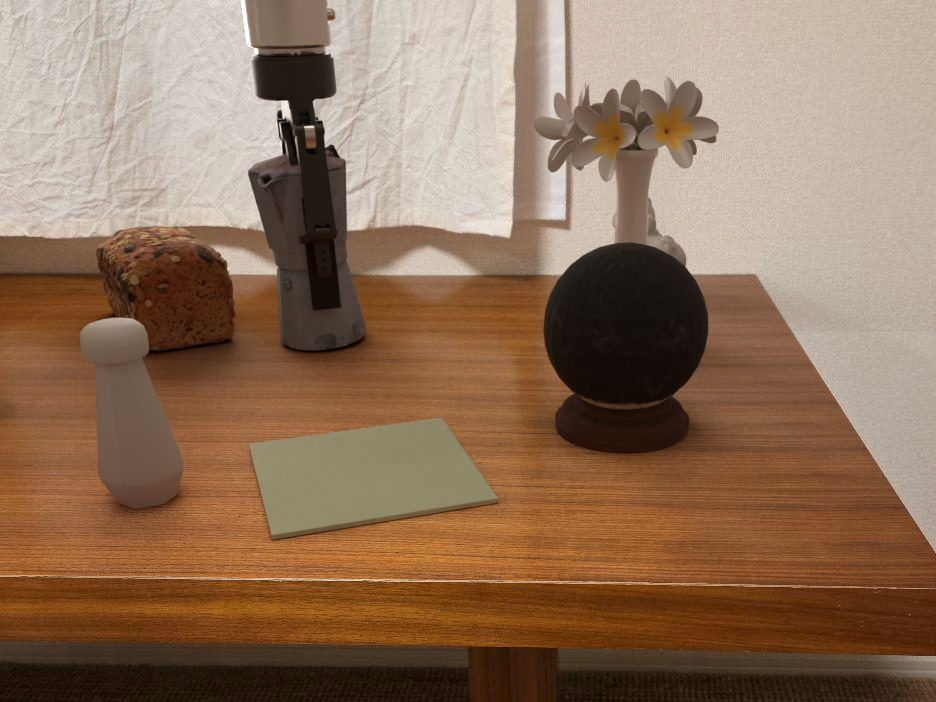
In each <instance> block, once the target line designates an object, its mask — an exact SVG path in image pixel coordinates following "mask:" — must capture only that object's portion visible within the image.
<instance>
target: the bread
mask: <svg viewBox="0 0 936 702" xmlns="http://www.w3.org/2000/svg"><path fill="white" fill-rule="evenodd" d="M95 251H96V252H95V253H96V261H97V263H96V264H97V268H98V271H99V273H100V276H101V280H102V281H101V284H102V287H103V290H104V292H105V293H104V294H105V296H106V298H107V301H108V302H107V303H108V305H109V307H110V309H111V311H112V313H113V315H115V318H129V319H134V320H136V321H138V322H139V323H141V324H142V325H144V327H145V330H146V332H147V335H148V342H149V351H169V350H173V349H183V348H187V347H193V346H201V345H202V346H203V345H207V344H208V345H209V344H214V343H223V342H225V341H227V340H230V339H231V338H232V337H233V336H234V333H235V328H236V323H235V317H236V316H237V315H236V313H237V312H236V310H235V308H234V307H235V300H234V285H233V283H234V282H233V279H232V277H231V276H230V271H228V261H227V259H225V258H224V257H222V254H221V253H220V252H219V251H217V250H216V249H215V248H213V247H211V246H210V245H209V244H208V243H206V242H205V241H203V240H202V239H201V238H199V237H198V236H196V235H195V234H193V233H191V232H190V231H189V230H187V229H185V228H182V227H180V226H171V225H170V226H163V225H151V226H134V227H130V228H125V229H119V230H117V231H116V232H115V233H114V234H113V235H112V236H111V237H109V238H108V239H107V240H105V241H104V242H102V243H100V244H99V245H98V246H97V248H96V250H95Z"/></svg>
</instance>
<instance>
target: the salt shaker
mask: <svg viewBox="0 0 936 702" xmlns="http://www.w3.org/2000/svg"><path fill="white" fill-rule="evenodd" d="M79 346H80V349H81V353H82V356H83V357H84V359H85V360H86V361H88V362H90V363H91V364H94V386H95V388H94V389H95V390H94V391H95V413H96V415H95V416H96V439H97V440H96V442H97V443H96V446H97V473H98V477H99V478H100V482H101V483H102V484H103V486H104V487H105V488H106V489H107V491H109V493H110V495H111V496H112V497H113V498H114V500H116V502H117V503H118V504H121V505H123V506H126V507H129V508H131V509H134V510H138V509H145V508H153V507H160V506H163V505H164V504H166V503H167V502H169V501H170V500H172V499H173V498H174V497H176V496H178V495H179V492H180V491H179V490H180V486H181V481H182V478H183V475H184V474H183V473H184V456H183V454H182V451H181V449H180V447H179V444H178V442H177V440H176V438H175V435H174V433H173V430H172V428H171V426H170V423H169V420H168V418H167V416H166V414H165V411H164V409H163V407H162V404H161V401H160V400H159V397H158V394H157V392H156V389H155V387H154V385H153V383H152V380H151V377H150V374H149V371H148V370H147V366H146V364H145V362H144V359H143V357H145V356H146V355H147V354H149V351H150V350H149V342H148V335H147V332H146V330H145V327H144V325H142V324H141V323H139V322H138V321H136V320H134V319H129V318H117V317H110V318H102V319H99V320H95V321H92V322H90V323H88V324H87V325H84V327H82V330H80V333H79Z"/></svg>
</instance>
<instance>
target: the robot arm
mask: <svg viewBox="0 0 936 702" xmlns="http://www.w3.org/2000/svg"><path fill="white" fill-rule="evenodd" d="M240 2H241V8H242V16H243V24H244V25H243V26H244V33H245V40H246V45H247V46H248V47H249V48H251V49H254V53H253V54H252V55H251V58H249V65H250V71H251V72H250V73H251V79H252V80H251V81H252V86H253V92H254V96H255V97H256V98H258V99H260V100H263V101H270V102H280V103H281V104H280V105H281V109H277V111H276V115H275V116H276V118H275V125H276V126H275V127H276V131H277V135H278V138H279V144H280V145H279V146H280V154H281V155H284V154H287V158H288V161H289V164H290V165H291V166H294V165H299V171H300V178H301V185H302V192H303V198H301V200H302V210H303V219H304V226H305V232H306V234H305V235H302V236H299V243H300V244H305V250H306V259H307V267H308V275H309V284H310V292H311V300H312V309H313V310H324V309H334V308H341V301H340V291H339V282H338V272H337V263H336V253H335V244H334V238H337V234H338V233H337V229H336V226H335V218H334V211H333V203H332V196H331V189H330V181H329V174H328V167H327V159H326V152H325V148H326V144H325V143H326V141H325V134H326V130H325V129H326V128H325V126H324V121H323V120H322V119H319V117H318V116H316V111H315V106H314V101H315V100H325V99H330V98H333V97H334V96H336V94H337V79H336V70H335V69H336V67H335V58H334V56H332V53H330V52H326V47H330V46H331V44H332V34H331V25H330V23H329V21H335V19H336V11H335V10H334V8H327V7H328V0H240ZM295 157H296V158H298V159H296V158H295ZM317 224H325V226H315V225H317Z"/></svg>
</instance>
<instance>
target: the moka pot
mask: <svg viewBox="0 0 936 702" xmlns="http://www.w3.org/2000/svg"><path fill="white" fill-rule="evenodd" d="M325 152H326V159H327V167H328V174H329V181H330V189H331V196H332V203H333V211H334V218H335V226H336V229H337V233H338V234H337V238H334V244H335V253H336V263H337V272H338V282H339V291H340V301H341V308H334V309H324V310H313V309H312V300H311V292H310V284H309V275H308V267H307V259H306V250H305V244H300V243H299V236H302V235H305V234H306V232H305V226H304V219H303V210H302V200H301V198H303V192H302V185H301V178H300V171H299V165H294V166H291V165H290V164H289V161H288V158H287V154H284V155H282V154H281V155H277V156H275V157H272V158H268V159H265V160H262V161H259V162H256V163H254V164H253V165H252V166H251V167H250V168H249V169H248V170H247V176H248V180H249V182H250V186H251V190H252V193H253V196H254V200H255V203H256V204H255V205H256V207H257V210H258V214H259V216H260V218H259V219H260V222H261V224H262V228H263V231H264V234H265V239H266V242H267V245H268V248H269V249H271V251H272V253H273V258H274V263H275V265H276V266H277V268H276V288H277V289H276V290H277V307H278V333H279V339H280V342H281V344H282V345H283V346H284V347H287V348H290V349H292V350H293V349H294V350H299V351H314V352H315V351H326V350H334V349H338V348H343V347H346V346H349V345H352V344H355V343H357V342H358V341H359V340H361V339H362V338H363V337H364V336H365V335H366V333H367V328H366V323H365V319H364V316H363V312H362V309H361V305H360V301H359V298H358V295H357V290H356V288H355V284H354V280H353V276H352V272H351V268H350V266H349V263H348V262H347V261H348V251H347V240H348V215H347V214H348V211H347V208H348V207H347V160H346V158H345V159H344V158H341V156H340V155H339V153H338V150H337V149H336V147H335V145H334V144H328V146H325ZM295 158H296V157H295ZM296 159H298V158H296ZM315 226H325V224H317V225H315Z"/></svg>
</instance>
